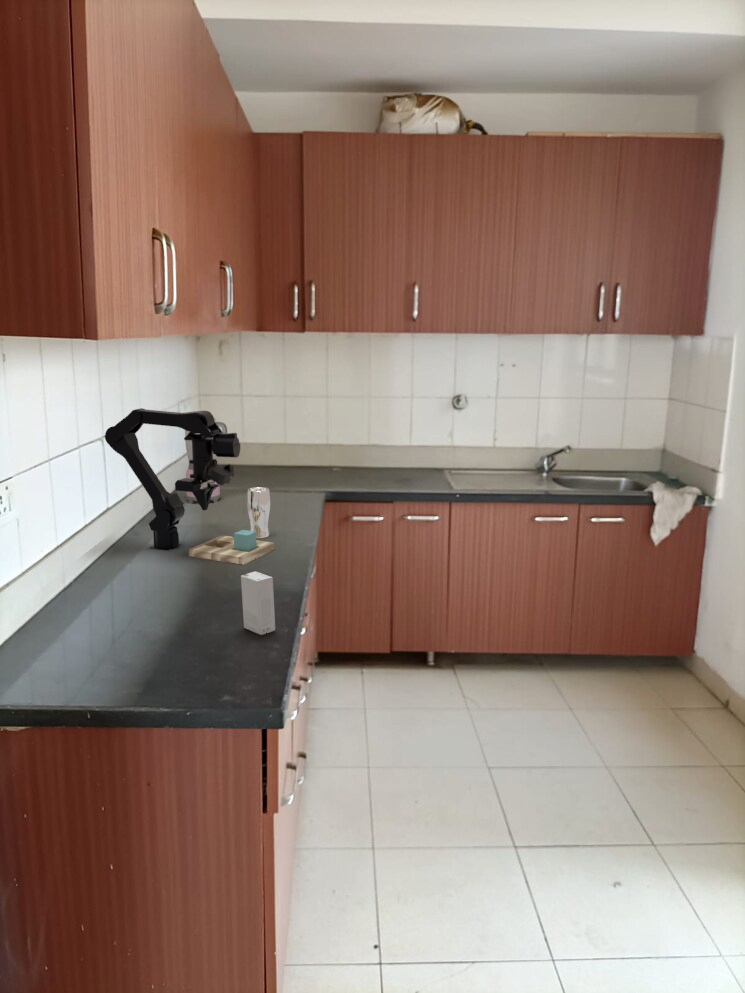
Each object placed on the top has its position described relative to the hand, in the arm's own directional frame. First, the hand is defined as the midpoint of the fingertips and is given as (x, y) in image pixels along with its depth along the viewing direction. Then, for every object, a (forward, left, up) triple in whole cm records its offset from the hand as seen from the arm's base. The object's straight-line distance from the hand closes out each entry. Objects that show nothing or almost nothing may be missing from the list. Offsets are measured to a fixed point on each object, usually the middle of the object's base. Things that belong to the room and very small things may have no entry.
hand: (204, 510), depth 214 cm
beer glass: (+6, +19, -12) cm, 23 cm away
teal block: (+13, 0, -12) cm, 18 cm away
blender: (-38, +53, -12) cm, 66 cm away
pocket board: (+9, 0, -12) cm, 15 cm away
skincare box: (+45, -43, -12) cm, 63 cm away
